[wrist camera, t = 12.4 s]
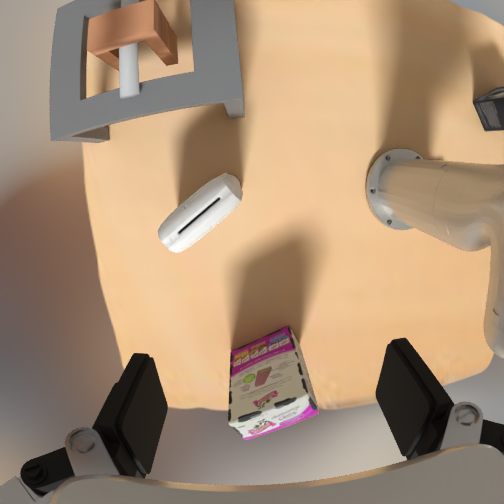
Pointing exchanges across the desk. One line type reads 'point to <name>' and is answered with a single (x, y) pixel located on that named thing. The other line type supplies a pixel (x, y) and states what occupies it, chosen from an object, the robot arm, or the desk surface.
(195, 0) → the grey square frame
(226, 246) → the desk surface
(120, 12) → the u-shaped wooden block
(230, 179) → the photo printer
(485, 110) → the small box
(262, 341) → the candy bar box
